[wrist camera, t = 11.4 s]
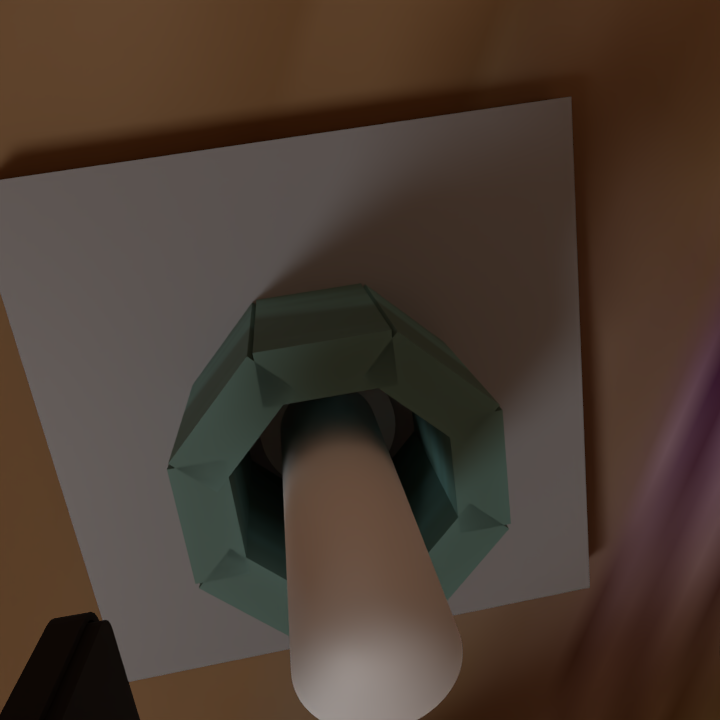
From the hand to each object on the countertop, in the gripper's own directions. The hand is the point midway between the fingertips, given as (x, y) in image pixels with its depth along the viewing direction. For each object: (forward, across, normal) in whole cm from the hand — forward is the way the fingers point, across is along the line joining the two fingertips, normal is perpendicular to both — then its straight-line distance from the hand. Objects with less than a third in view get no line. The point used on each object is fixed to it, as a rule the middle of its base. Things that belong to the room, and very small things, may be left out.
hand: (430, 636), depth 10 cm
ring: (+8, +1, 0) cm, 8 cm away
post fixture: (+9, +1, 0) cm, 9 cm away
